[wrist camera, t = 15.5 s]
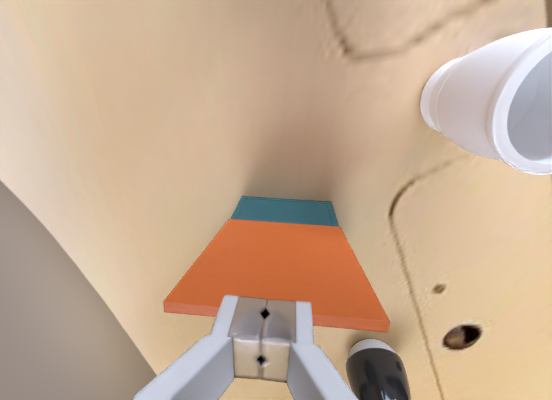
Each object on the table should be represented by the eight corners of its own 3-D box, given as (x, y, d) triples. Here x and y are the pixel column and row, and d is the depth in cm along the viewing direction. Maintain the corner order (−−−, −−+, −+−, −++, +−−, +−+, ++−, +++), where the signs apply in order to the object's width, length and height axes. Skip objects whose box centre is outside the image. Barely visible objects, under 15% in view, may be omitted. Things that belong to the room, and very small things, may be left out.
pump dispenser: (408, 342, 49) (452, 443, 35) (374, 371, 53) (402, 472, 39) (363, 321, 48) (390, 418, 34) (332, 353, 52) (345, 450, 38)
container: (320, 283, 45) (324, 320, 38) (243, 276, 45) (233, 311, 38) (331, 201, 38) (339, 227, 31) (241, 196, 39) (229, 220, 32)
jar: (464, 151, 34) (577, 193, 20) (394, 123, 33) (462, 147, 20) (522, 67, 30) (714, 48, 16) (443, 32, 29) (575, -18, 15)
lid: (388, 333, 15) (390, 321, 15) (163, 312, 16) (162, 301, 16) (339, 232, 31) (340, 226, 31) (228, 224, 32) (228, 218, 31)
